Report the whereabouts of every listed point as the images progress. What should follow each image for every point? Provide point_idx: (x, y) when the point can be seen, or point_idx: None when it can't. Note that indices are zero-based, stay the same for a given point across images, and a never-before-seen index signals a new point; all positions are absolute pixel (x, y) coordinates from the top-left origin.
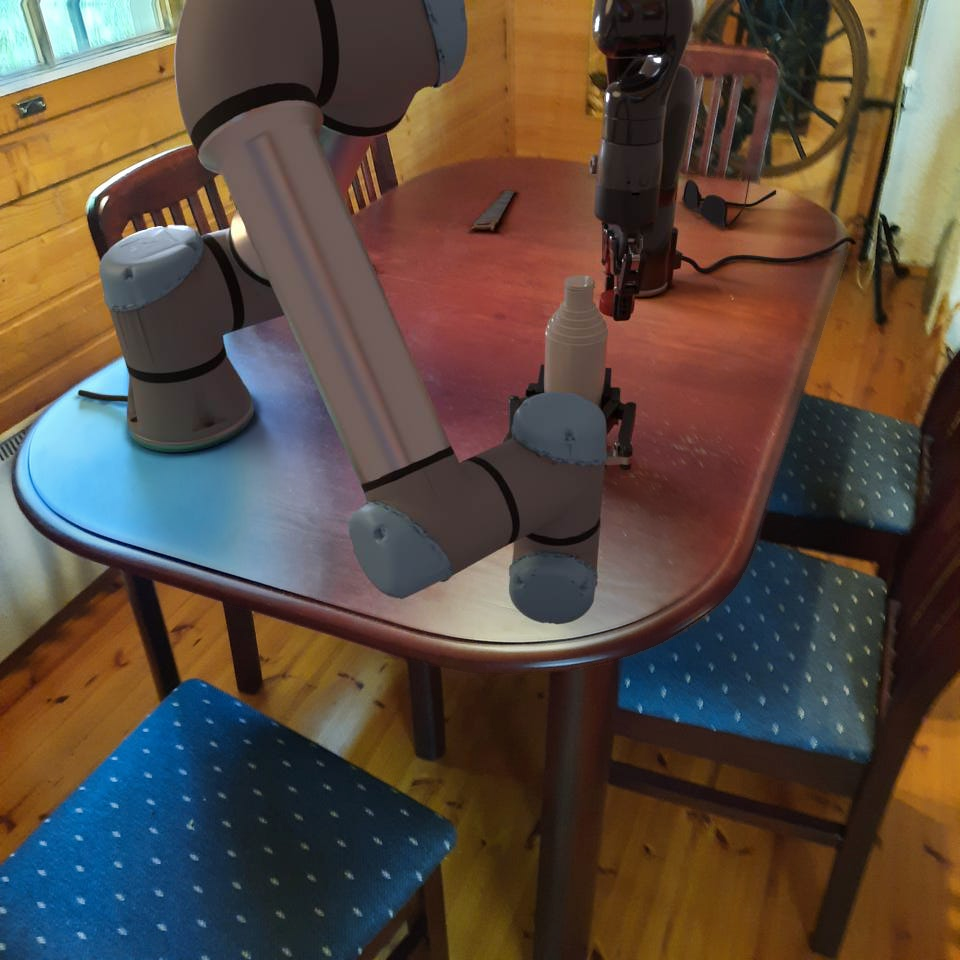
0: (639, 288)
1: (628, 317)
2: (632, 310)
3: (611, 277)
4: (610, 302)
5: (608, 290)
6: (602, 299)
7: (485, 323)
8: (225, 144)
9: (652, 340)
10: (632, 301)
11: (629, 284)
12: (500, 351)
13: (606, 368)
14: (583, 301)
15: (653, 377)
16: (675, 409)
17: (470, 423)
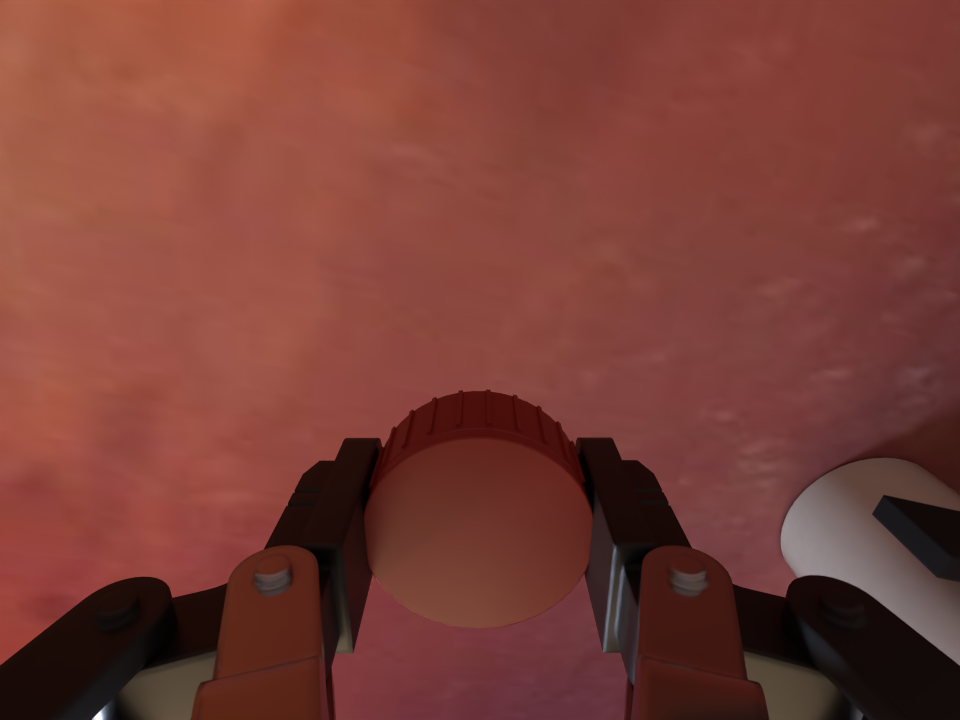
0: (927, 646)
1: (640, 463)
2: (539, 416)
3: (338, 626)
4: (566, 594)
5: (380, 573)
6: (507, 622)
7: None
8: None
9: (208, 101)
10: (559, 460)
11: (795, 695)
12: None
13: (946, 574)
14: None
15: (535, 186)
16: (786, 165)
17: None
